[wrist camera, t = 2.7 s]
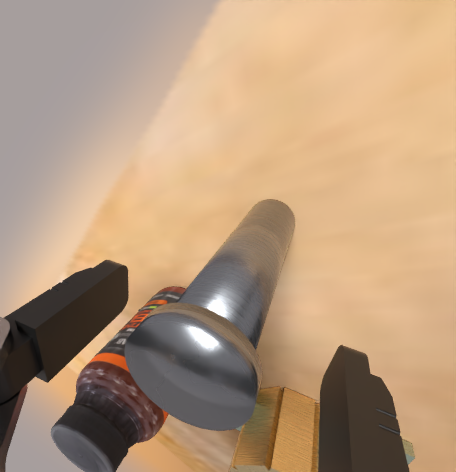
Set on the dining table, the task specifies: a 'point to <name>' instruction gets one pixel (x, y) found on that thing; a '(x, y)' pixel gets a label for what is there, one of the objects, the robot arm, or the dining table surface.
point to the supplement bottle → (110, 404)
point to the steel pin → (215, 328)
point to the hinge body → (282, 435)
